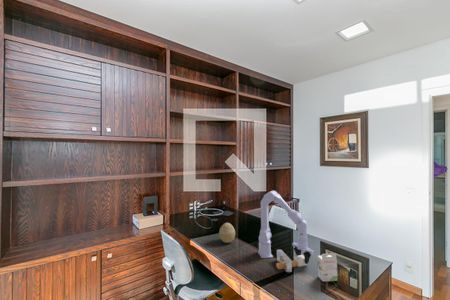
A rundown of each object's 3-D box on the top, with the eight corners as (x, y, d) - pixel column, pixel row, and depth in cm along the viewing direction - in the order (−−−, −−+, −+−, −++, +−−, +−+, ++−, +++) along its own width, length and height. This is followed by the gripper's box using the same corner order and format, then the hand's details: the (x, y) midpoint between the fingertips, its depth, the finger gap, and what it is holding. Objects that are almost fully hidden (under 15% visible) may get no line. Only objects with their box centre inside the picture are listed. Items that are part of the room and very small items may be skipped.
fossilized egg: (225, 247, 156) (224, 226, 156) (216, 241, 167) (216, 222, 167) (238, 242, 163) (238, 223, 163) (229, 237, 174) (229, 219, 174)
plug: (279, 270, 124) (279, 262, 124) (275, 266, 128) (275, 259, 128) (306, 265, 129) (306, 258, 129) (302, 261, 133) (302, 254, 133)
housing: (277, 260, 136) (276, 249, 136) (281, 259, 136) (281, 249, 136) (286, 272, 121) (286, 260, 122) (291, 271, 122) (291, 260, 122)
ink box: (332, 275, 117) (332, 249, 118) (337, 281, 112) (337, 253, 113) (317, 276, 117) (317, 249, 117) (322, 281, 112) (321, 253, 112)
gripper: (288, 237, 135) (289, 258, 135) (308, 245, 123) (308, 268, 122) (296, 234, 139) (296, 255, 138) (315, 242, 126) (316, 265, 126)
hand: (302, 261), depth 131 cm, fingers closed on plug, 5 cm apart
